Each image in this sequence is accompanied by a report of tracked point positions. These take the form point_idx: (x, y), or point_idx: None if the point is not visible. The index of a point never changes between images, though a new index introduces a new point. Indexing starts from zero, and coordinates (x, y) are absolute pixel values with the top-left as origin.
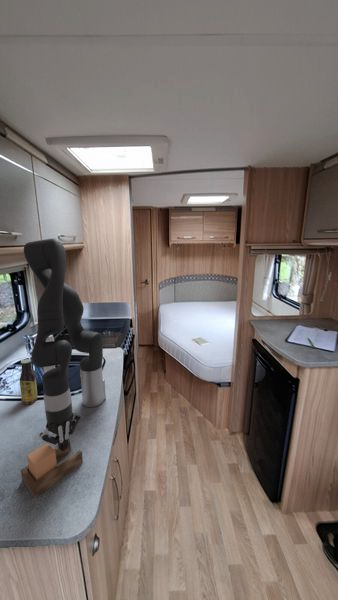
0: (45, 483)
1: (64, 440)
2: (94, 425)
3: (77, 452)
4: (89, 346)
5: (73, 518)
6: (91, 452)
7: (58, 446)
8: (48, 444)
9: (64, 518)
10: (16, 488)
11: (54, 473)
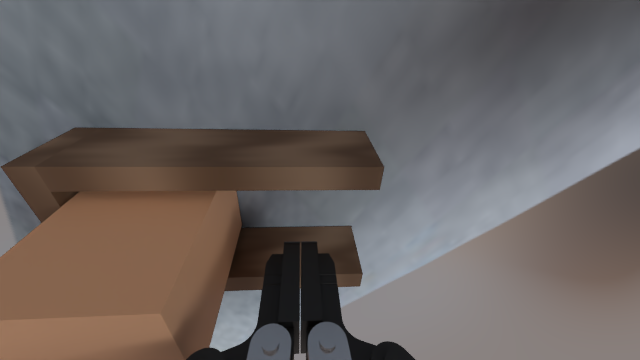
0: None
1: (302, 352)
2: (590, 89)
3: (344, 276)
4: None
5: (223, 335)
6: (404, 226)
7: (264, 281)
8: (167, 332)
9: None
10: None
11: None
